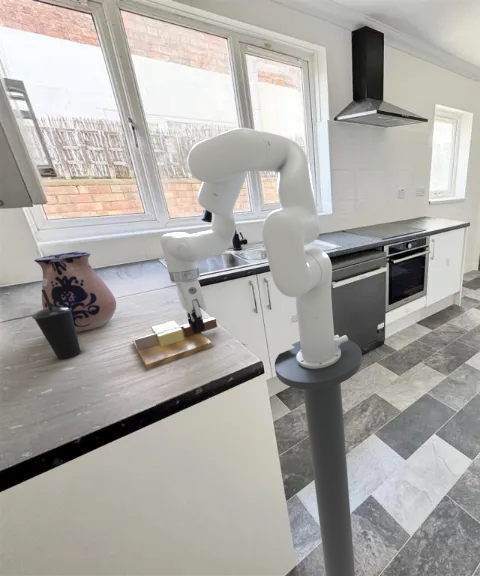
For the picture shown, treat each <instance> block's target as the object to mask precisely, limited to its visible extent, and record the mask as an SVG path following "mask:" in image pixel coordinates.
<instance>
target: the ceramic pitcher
mask: <svg viewBox="0 0 480 576" xmlns="http://www.w3.org/2000/svg"><path fill="white" fill-rule="evenodd" d="M90 256H91V252H82V251H81V252H80V251H78V250H76V251H71V252H64V253H59V254H51V255H47V256H42V257H38V258H35V259H34V260H33V261H34V262H35V263H36V264H38V265H39V266H40V267H41V268H40V269H41V270H42V271H41V272H42V284H41V287H42V288H41V290H45V291H46V294H47V296H48V298H49V301H50V303H51V306H52V307H53V306H68V307H71V308H72V310H71V313H72V317H73V321H74V325H75V329H76V333H78V332H85V331H91V330H95V329H98V328H100V327H103V326H105V325H106V324H107V323H109V321H111V319H112V318H113V316H114V314H115V312H116V309H117V301H116V298H115V296H114V294H113V292H112V291H111V289H110V288H109V286H108V285H107V284H106V283H105V281H104V280H103V279H102V278H101V277H100V276H99V274H98V273H97V272H96V271H95V270H94V268H93V267H92V265H91V264H90V262H89V258H90ZM41 305H42V309H45V308H48V305H47V303H46V301H45V298H44V296H43V293H42V292H41Z"/></svg>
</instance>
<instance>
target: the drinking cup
mask: <svg viewBox="0 0 480 576" xmlns="http://www.w3.org/2000/svg"><path fill="white" fill-rule="evenodd" d="M42 293H43V296H44V298H45V301H46V303H47V305H48V308H45V309H43V308H42V309H40V310H39V311H37V312H35V313H33V314H32V315H31V318H32V319H33V320H34V321H35V322H36V324H37V326H38V327H39V329H40V331H41V332H42V335H43V336H44V338H45V339H46V341H47V342H48V344H49V346H50V347H51V349H52V351H53V353H54V354H55V357H56V358H57V359H58V360H66V359H67V360H68V359H71V358H74V357H76V356H79V355H80V354H81V353H82V350H81V346H80V342H79V337H78V334H77V333H78V332H76V329H75V325H74V321H73V317H72V313H71V310H72V308H71V307H68V306H53V307H52V306H51V303H50V301H49V298H48V296H47V294H46V291H45V290H42V289H41V294H42Z"/></svg>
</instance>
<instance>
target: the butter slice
mask: <svg viewBox="0 0 480 576" xmlns="http://www.w3.org/2000/svg"><path fill="white" fill-rule="evenodd" d="M157 337H158V340H159V344H160V346H161V347H163V346H166V345H170V344H173V343H176V342H179V341H182V340H185V339H184V335H183V331H182V329H181V328H177V329H173V330H170V331H167V332H163V333H160V334H157Z"/></svg>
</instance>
